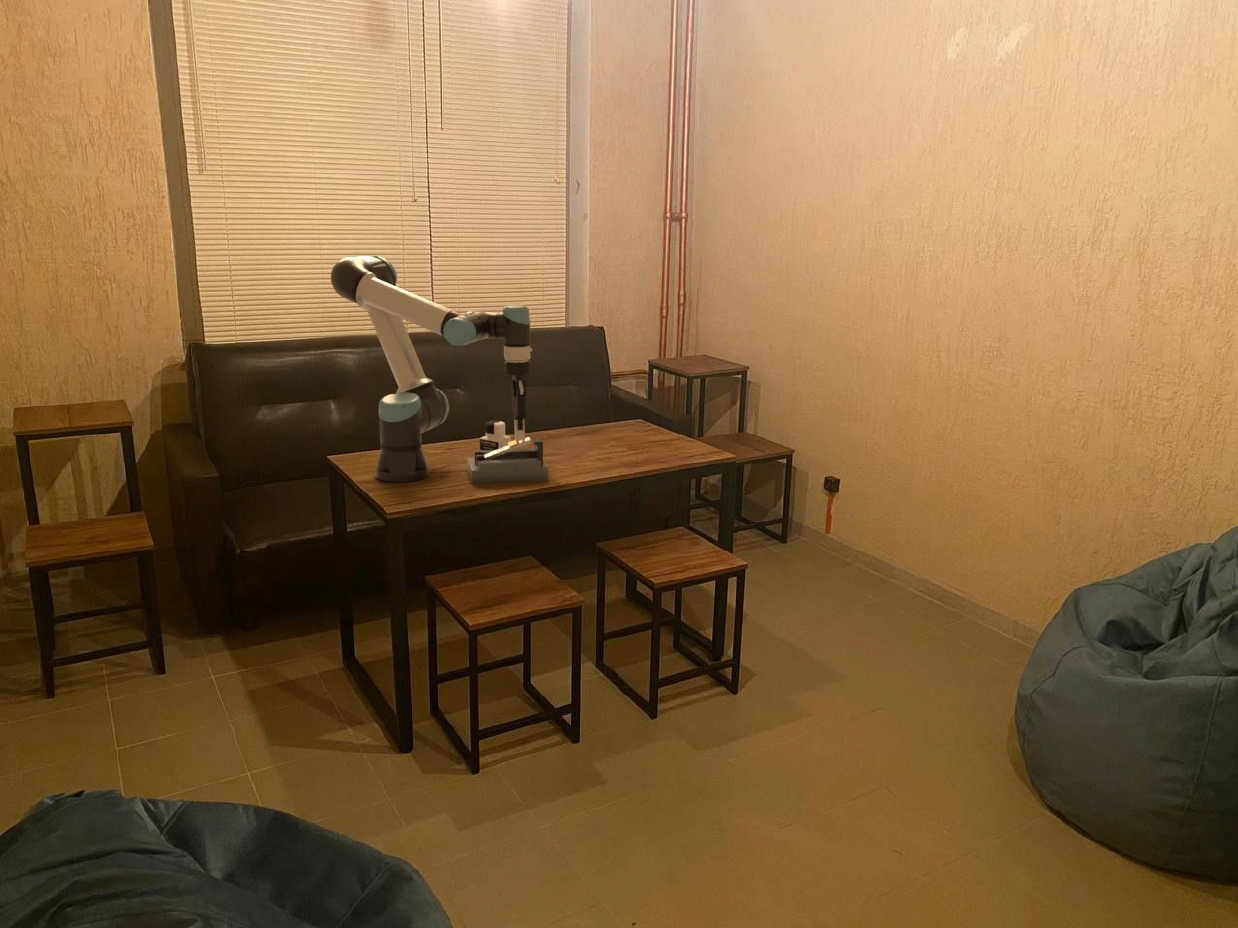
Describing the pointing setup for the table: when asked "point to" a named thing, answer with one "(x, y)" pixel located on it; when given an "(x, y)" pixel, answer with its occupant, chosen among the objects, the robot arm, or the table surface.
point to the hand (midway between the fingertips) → (519, 439)
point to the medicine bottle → (494, 436)
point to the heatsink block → (509, 466)
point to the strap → (507, 448)
